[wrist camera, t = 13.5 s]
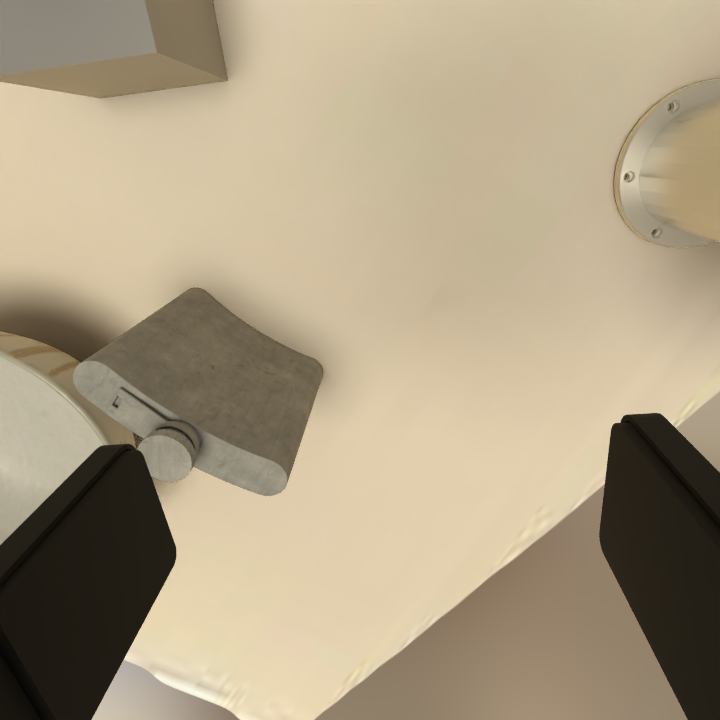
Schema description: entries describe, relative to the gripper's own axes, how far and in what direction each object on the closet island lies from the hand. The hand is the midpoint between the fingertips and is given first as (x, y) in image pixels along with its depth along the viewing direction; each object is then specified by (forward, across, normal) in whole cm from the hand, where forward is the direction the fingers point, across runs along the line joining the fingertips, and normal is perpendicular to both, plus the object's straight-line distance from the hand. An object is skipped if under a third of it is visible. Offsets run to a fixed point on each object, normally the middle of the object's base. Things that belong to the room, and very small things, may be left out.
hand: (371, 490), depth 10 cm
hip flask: (+37, +15, +10) cm, 41 cm away
